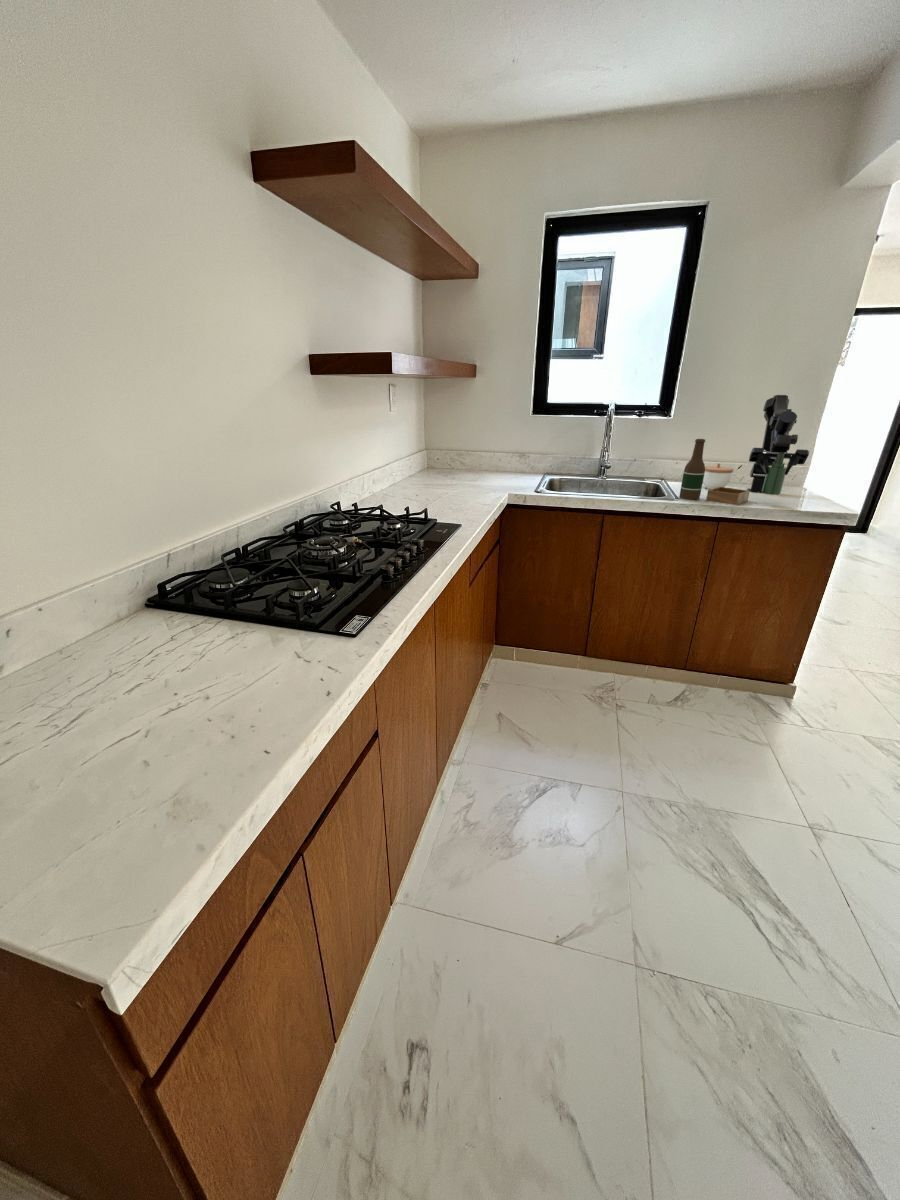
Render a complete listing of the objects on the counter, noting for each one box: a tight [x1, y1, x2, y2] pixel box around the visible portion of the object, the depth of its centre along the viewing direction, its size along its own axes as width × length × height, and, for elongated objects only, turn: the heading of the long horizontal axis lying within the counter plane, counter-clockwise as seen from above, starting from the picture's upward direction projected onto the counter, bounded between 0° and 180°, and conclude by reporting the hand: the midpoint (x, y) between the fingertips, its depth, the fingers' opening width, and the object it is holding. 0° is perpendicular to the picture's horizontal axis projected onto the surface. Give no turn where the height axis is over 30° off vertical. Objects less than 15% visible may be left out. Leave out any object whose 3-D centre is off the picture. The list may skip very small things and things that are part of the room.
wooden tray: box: [705, 486, 751, 506], centre depth 203 cm, size 12×12×4 cm
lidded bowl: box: [702, 463, 734, 490], centre depth 229 cm, size 13×13×11 cm
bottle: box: [761, 453, 787, 496], centre depth 191 cm, size 6×6×15 cm
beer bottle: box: [679, 438, 706, 501], centre depth 203 cm, size 8×8×24 cm
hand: (776, 473), depth 190 cm, fingers closed on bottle, 6 cm apart
